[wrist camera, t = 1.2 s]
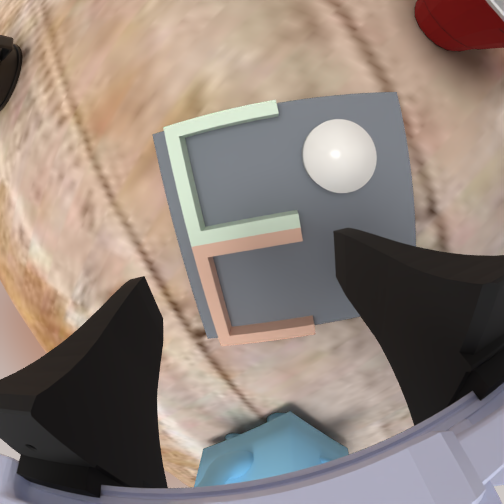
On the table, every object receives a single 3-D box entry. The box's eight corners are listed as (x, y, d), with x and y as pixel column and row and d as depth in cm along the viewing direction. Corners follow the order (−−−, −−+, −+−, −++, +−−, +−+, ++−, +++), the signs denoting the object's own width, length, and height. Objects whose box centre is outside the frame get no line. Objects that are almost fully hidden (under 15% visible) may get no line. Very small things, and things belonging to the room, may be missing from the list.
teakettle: (362, 396, 27) (390, 509, 13) (329, 471, 33) (335, 549, 19) (192, 390, 29) (154, 503, 15) (207, 466, 35) (189, 543, 21)
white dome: (371, 184, 20) (381, 188, 18) (307, 194, 20) (310, 198, 19) (361, 119, 18) (369, 116, 16) (295, 126, 19) (297, 123, 17)
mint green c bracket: (299, 223, 21) (300, 227, 20) (196, 241, 22) (191, 246, 21) (275, 103, 19) (275, 99, 17) (170, 128, 20) (163, 127, 18)
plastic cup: (425, 87, 17) (522, 55, 6) (366, -16, 14) (412, -94, 3) (499, 74, 15) (582, 59, 4) (449, -17, 12) (508, -62, 1)
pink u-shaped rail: (313, 324, 24) (315, 334, 23) (223, 337, 25) (221, 346, 24) (299, 223, 21) (300, 227, 20) (196, 241, 22) (191, 246, 21)
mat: (412, 301, 23) (414, 304, 23) (209, 334, 26) (207, 338, 25) (393, 93, 18) (396, 92, 17) (155, 134, 20) (152, 134, 20)
